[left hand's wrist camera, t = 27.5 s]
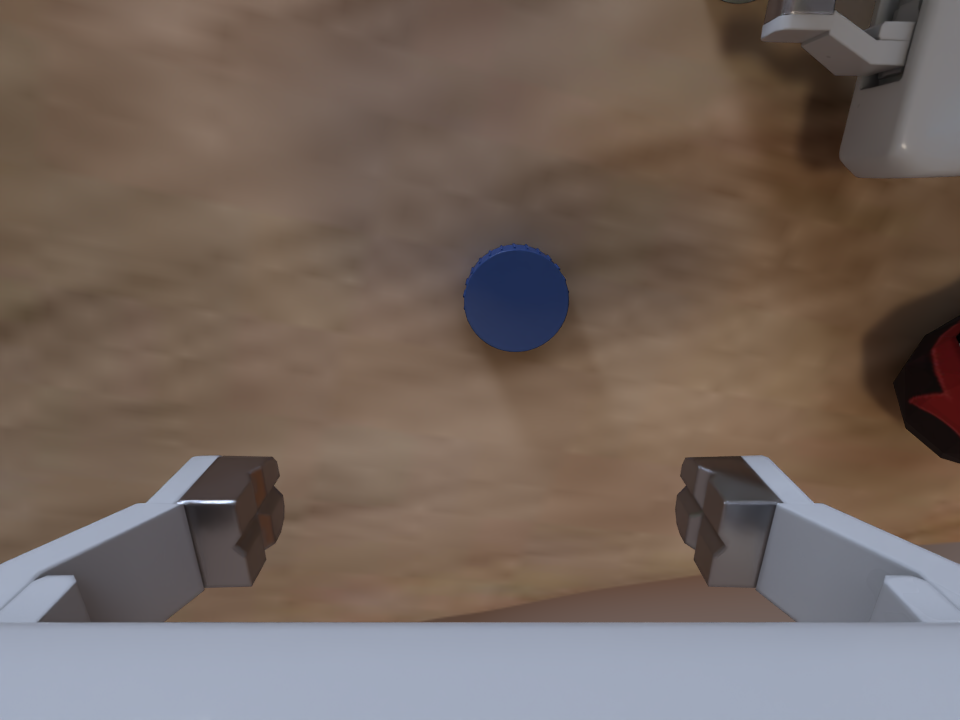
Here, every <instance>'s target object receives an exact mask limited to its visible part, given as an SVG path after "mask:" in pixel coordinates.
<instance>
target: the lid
mask: <svg viewBox="0 0 960 720" xmlns="http://www.w3.org/2000/svg"><path fill="white" fill-rule="evenodd" d="M559 270H560V268H559V267H558V265H557V264H554V263H553V262H552V259H551V258H550V257H549V255H547V256H546V255H545V254H544V253H542V252H541V251H540V250H539V249H538V248H537V249H535V248H532V247H529V246H527V244H525V246H524V245H515V244H514V243H513V245H507V246H503V247H502V245H501V246H500V247H499V248H497V249H494V250H493V251H491V250H490V251H489V253H488V254H486V255H485V256H483V257H482V258H479V261H478V263H477V264H476V265H475V266H474V268H473V267H472V269H471V274H470V276H469V278H467V280H466V284H465V285H467V286H466V290H465V291H464V295H463V297H464V310H465V313H466V317H467V320H468V322H469V324H470V326H471V327H472V329H473V330H474V332H475V333H476V334H477V335H478V336H479V337H480V338H481V339H482V340H483V341H484V342H486V343H487V344H489V345H490V346H492V347H495V348H497V349H500V350H503V351H509V352H522V351H527V350H531V349H534V348H537V347H539V346H541V345H543V344H544V343H546V342H547V341H549V340H550V339H551V338H552V337H553V336H554V335H555V334H556V333H557V332H558V330H559V329H560V327H561V326H562V324H563V322H564V320H565V317H566V315H567V311H568V305H569V294H568V293H569V291H568V289H567V285H566V282H565V281H566V279H565V278H564V276H563V275H562V274H561V272H560V271H559Z"/></svg>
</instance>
